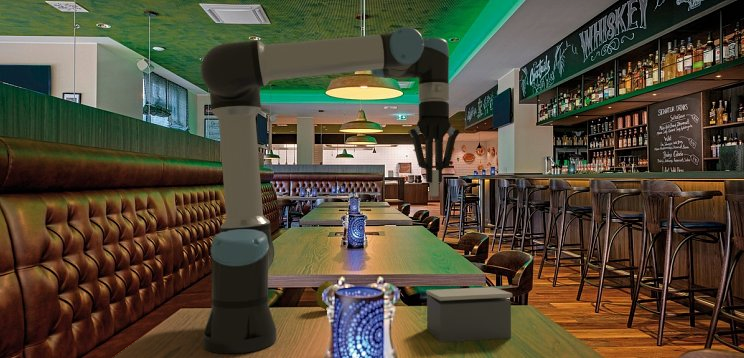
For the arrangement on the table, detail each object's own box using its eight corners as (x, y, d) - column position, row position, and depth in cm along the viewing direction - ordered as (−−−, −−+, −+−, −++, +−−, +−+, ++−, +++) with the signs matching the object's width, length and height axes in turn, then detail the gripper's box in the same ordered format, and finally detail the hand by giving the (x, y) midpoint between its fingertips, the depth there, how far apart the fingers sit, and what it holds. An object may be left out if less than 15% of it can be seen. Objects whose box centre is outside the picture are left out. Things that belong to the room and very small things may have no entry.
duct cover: (440, 300, 107) (439, 296, 107) (426, 293, 117) (426, 290, 117) (512, 297, 110) (512, 293, 110) (492, 290, 120) (492, 287, 120)
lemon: (334, 314, 129) (334, 283, 129) (313, 313, 130) (313, 282, 130) (340, 309, 134) (340, 279, 134) (320, 308, 135) (320, 278, 135)
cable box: (440, 342, 107) (440, 304, 107) (427, 328, 117) (426, 294, 117) (510, 337, 110) (510, 301, 110) (491, 324, 120) (491, 291, 120)
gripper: (412, 99, 121) (412, 196, 122) (463, 100, 124) (464, 196, 124) (404, 103, 129) (405, 195, 129) (453, 104, 131) (453, 195, 131)
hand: (434, 195), depth 126 cm, fingers closed
